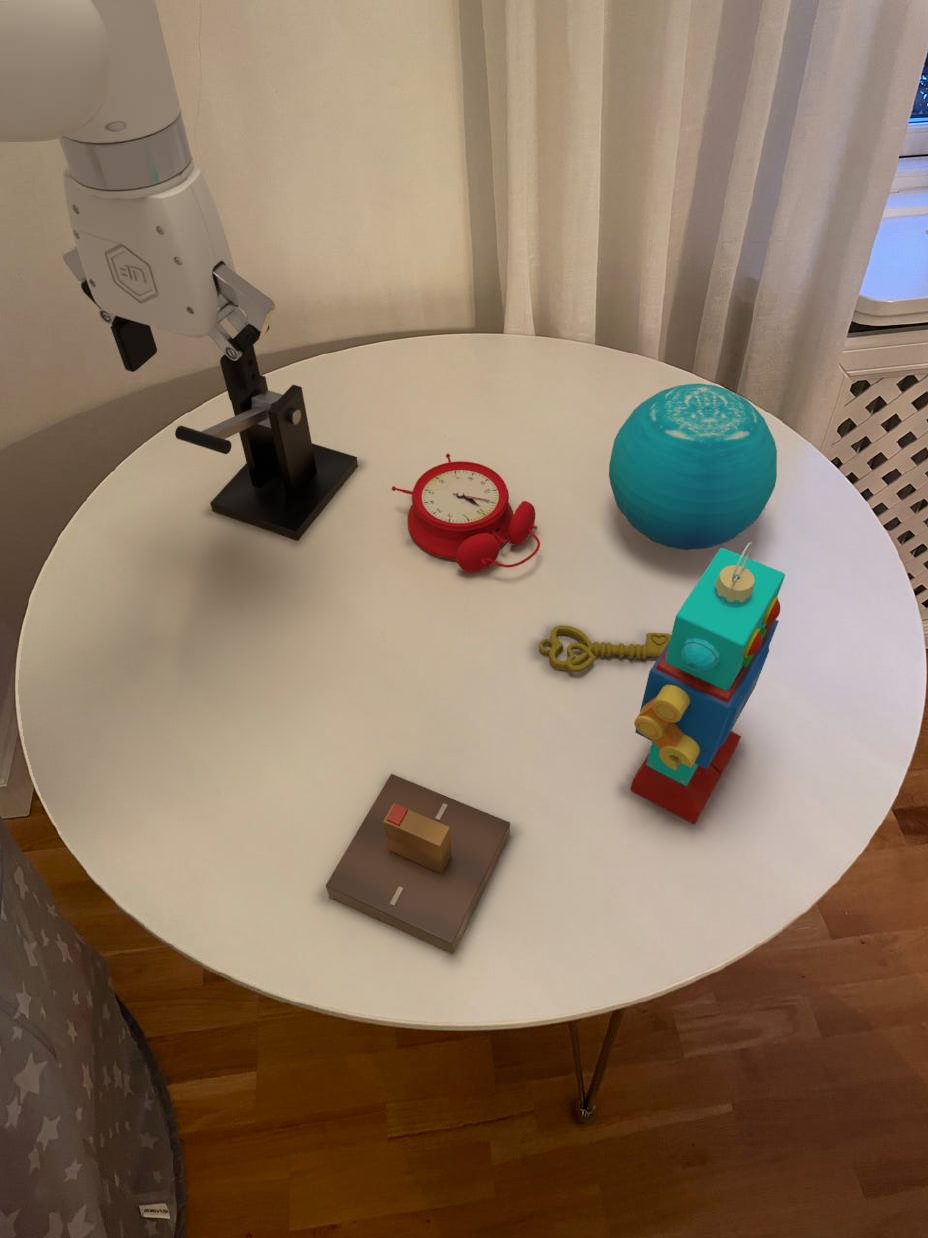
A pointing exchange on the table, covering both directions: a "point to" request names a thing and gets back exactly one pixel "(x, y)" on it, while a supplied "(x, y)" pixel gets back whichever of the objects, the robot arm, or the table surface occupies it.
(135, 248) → the robot arm
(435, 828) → the thumbturn
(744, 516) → the decorative orb
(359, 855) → the plate
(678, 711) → the toy robot
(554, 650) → the key
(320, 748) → the table surface
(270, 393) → the door lever
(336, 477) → the black handle mount
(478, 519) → the alarm clock
